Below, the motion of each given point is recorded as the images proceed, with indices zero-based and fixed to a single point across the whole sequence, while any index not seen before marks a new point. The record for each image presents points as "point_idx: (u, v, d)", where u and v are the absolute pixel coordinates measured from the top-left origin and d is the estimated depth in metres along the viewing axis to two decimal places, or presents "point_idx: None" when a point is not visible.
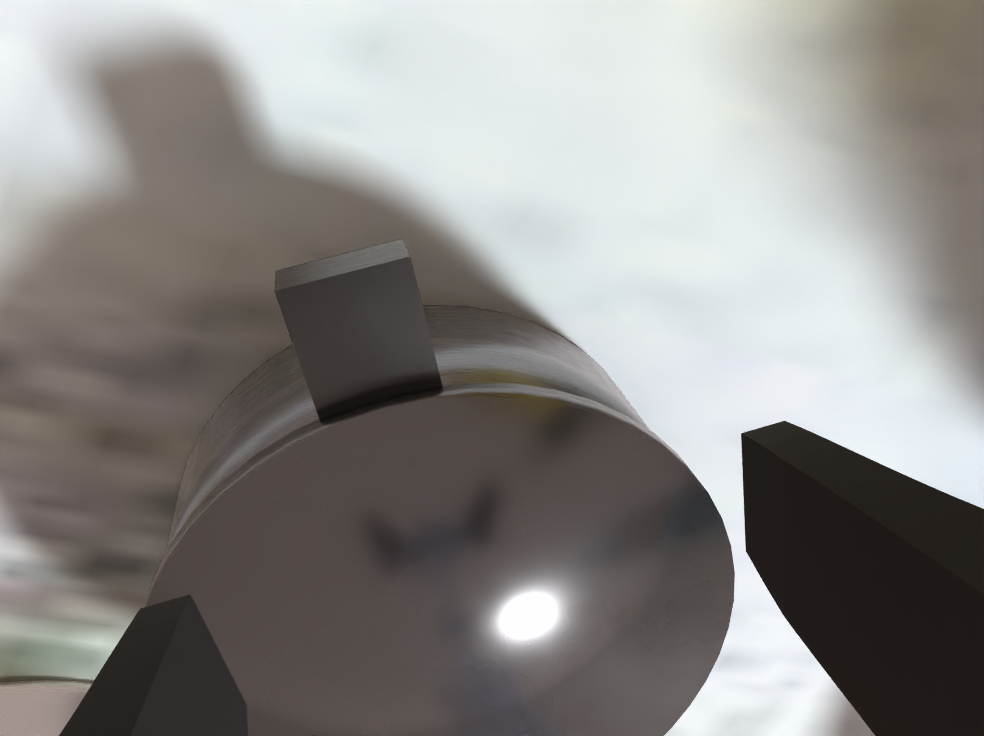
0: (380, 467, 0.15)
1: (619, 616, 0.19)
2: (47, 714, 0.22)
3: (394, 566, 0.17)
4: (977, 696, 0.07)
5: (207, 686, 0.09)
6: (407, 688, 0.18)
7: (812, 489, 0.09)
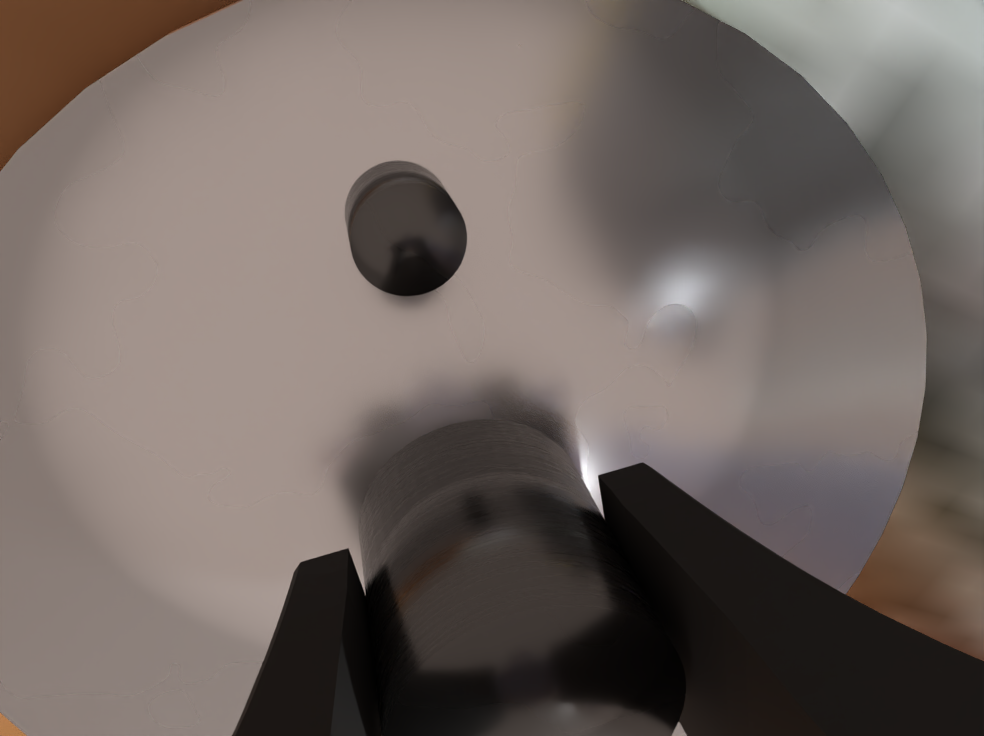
0: None
1: None
2: (610, 67, 0.09)
3: None
4: None
5: (369, 637, 0.09)
6: None
7: (646, 539, 0.09)
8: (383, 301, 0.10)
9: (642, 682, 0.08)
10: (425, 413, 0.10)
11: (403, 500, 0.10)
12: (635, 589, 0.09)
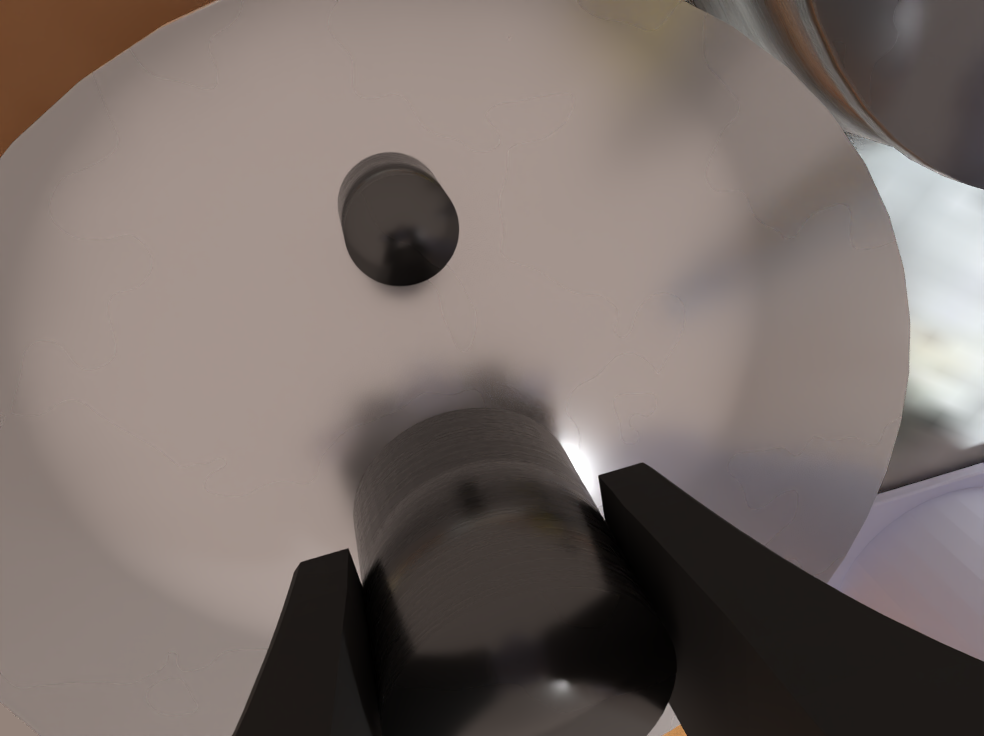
0: None
1: None
2: (599, 59, 0.09)
3: None
4: None
5: None
6: None
7: (646, 539, 0.09)
8: (376, 292, 0.10)
9: (634, 662, 0.09)
10: (418, 402, 0.11)
11: (398, 487, 0.10)
12: (626, 571, 0.09)
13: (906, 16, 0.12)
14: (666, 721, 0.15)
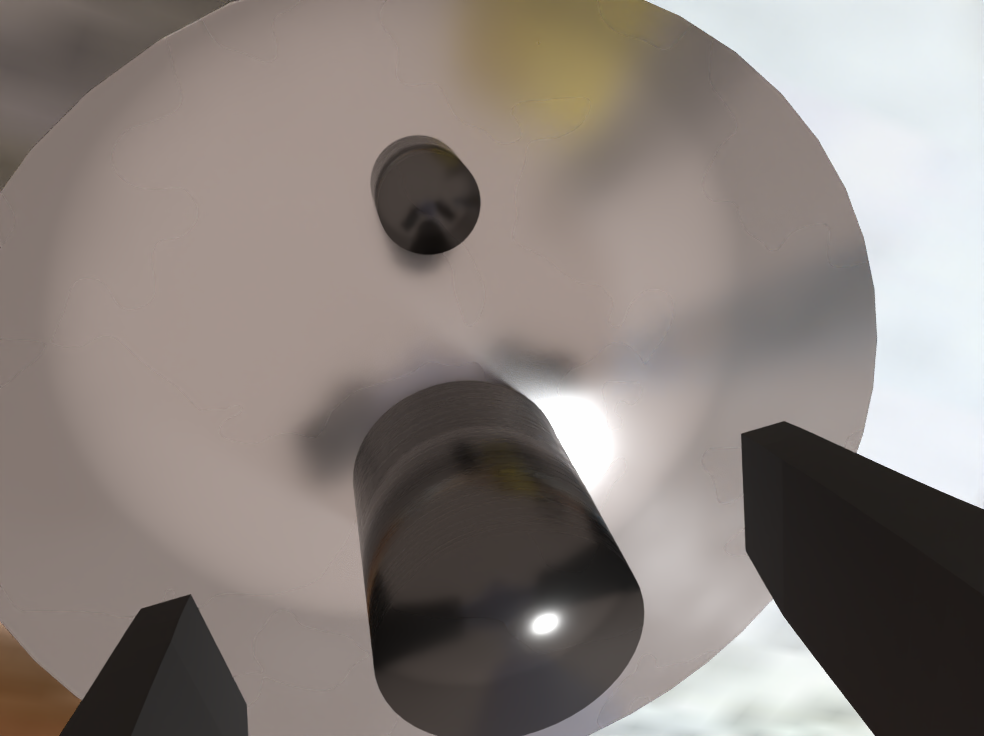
0: None
1: None
2: (616, 70, 0.10)
3: None
4: (977, 696, 0.07)
5: (207, 686, 0.09)
6: None
7: (811, 489, 0.09)
8: (396, 262, 0.11)
9: (606, 610, 0.09)
10: (424, 370, 0.11)
11: (400, 444, 0.11)
12: (605, 529, 0.10)
13: None
14: (626, 704, 0.16)
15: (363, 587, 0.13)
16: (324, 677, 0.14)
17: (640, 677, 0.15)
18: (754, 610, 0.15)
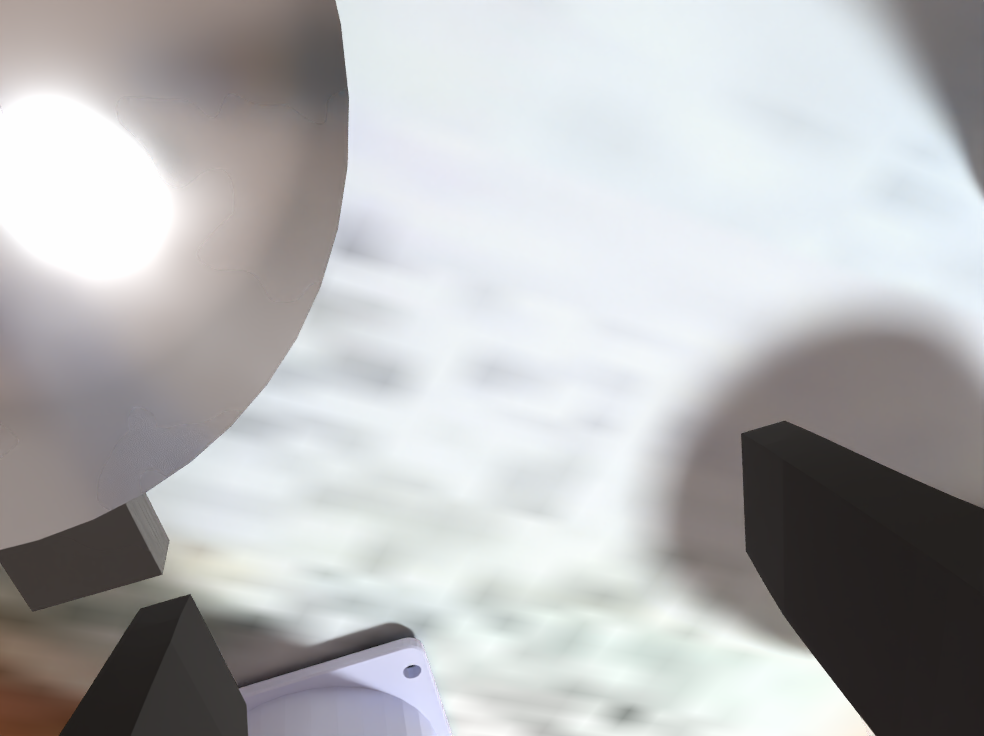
0: None
1: None
2: None
3: None
4: (977, 696, 0.07)
5: (207, 686, 0.09)
6: None
7: (811, 489, 0.09)
8: None
9: None
10: None
11: None
12: None
13: None
14: (133, 479, 0.13)
15: None
16: None
17: (140, 440, 0.12)
18: (274, 354, 0.12)
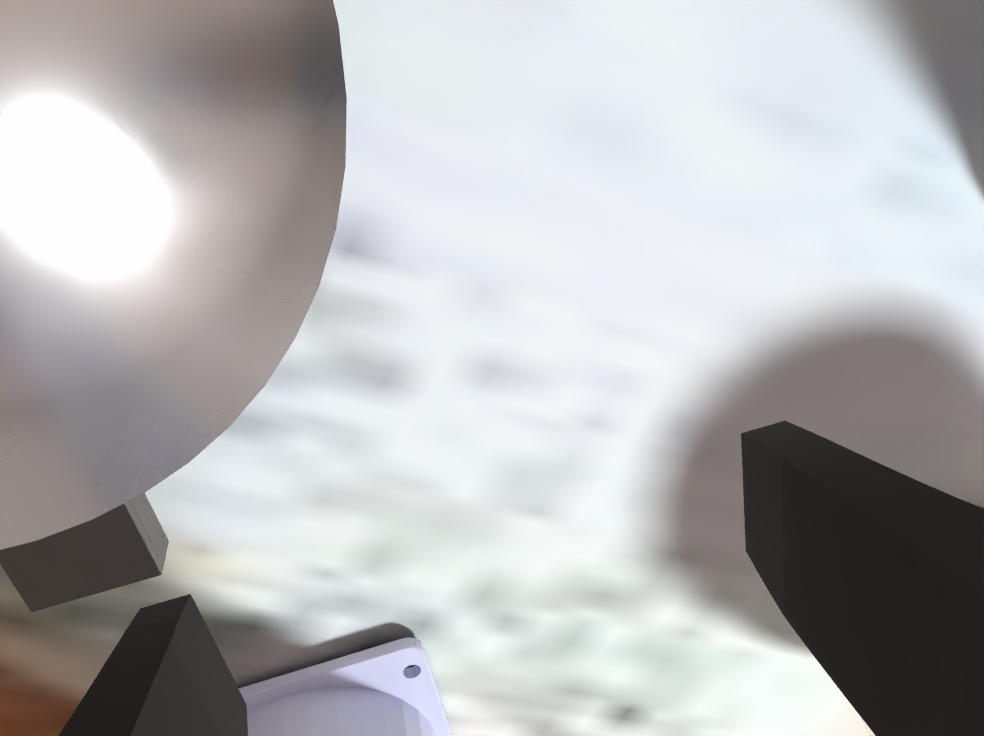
0: None
1: None
2: None
3: None
4: (977, 696, 0.07)
5: (207, 686, 0.09)
6: None
7: (812, 490, 0.09)
8: None
9: None
10: None
11: None
12: None
13: None
14: (131, 479, 0.13)
15: None
16: None
17: (138, 440, 0.12)
18: (272, 354, 0.12)
